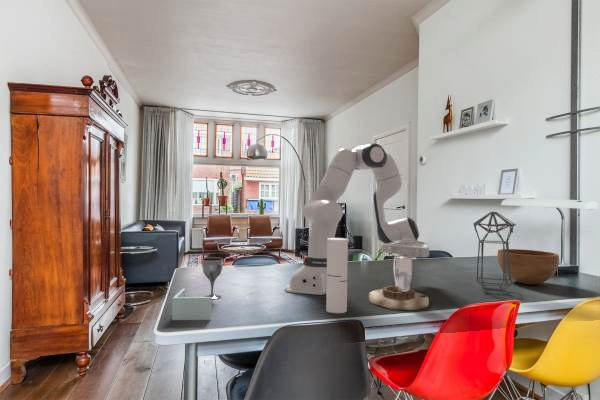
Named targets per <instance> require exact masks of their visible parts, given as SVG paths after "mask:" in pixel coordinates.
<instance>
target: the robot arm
mask: <svg viewBox="0 0 600 400" xmlns="http://www.w3.org/2000/svg"><path fill="white" fill-rule="evenodd" d="M369 169H370V170H371V171H372V173H373V174H374V177H375V181H376V190H375V191H374V192H373V206H374V207H373V208H374V214H375V221H376V234H377V237H378V241H380V242H382V243H381V244H380V253H385V254H396V255H398V256H408V257H412V259H413V258H428V257H430V245H428V243H427V242H423V241H419V240H418V239H419V237H420V231H419V228H418V225H417V224H416V222H415V220H414V219H413V218H410V217H403V218H398V219H396V220H391V221H386V217H385V210H384V206H385V203H386V202H387V201H388V200H389V199H391V198H393V197H394V196H395V195H396V194H398V193H399V191H400V190H401V188H402V184H403V183H402V177H401V174H400V171H399V168H398V165H397V164H396V161H395V159H394V158H393V156H392V155H391V154H390V153H387V152H386V151H385V149H384V147H382V145H380V144H378V143H368V144H361V145H358V146H356V147H352V148H351V149H348V148H340V149H338V150H337V152H336V153H335V155H334V156H333V157H332V159H331V161H330V163H329V165H328V166H327V169H326V172H325V173H324V175H323V178H322V180H321V182H320V184H319V185H318V186H317V188H316V189H315V191H314V192H313V194H312V195H311V196H310V199H309V200H308V201H307V202H306V203H305V205H304V206H303V208H302V213H303V217H304V218H305V219H306V220H307V221H308V222H309V223H312V229H311V233H310V236H308V244H307V245H308V250H307V251H308V253H307V254H308V255H304V256H303V257H302V260H303V265H301V266H300V267H299V268H297V270H295V271H294V272H292V274H291V277H290V280H289V283H286V284H285V287H284V291H285V292H287V293H294V294H295V293H296V294H307V295H319V296H321V295H326V290H327V238H336V237H335V236H336V233H337V229H338V224H339V222H341V220H342V217H343V208H342V206H341V204H339V202H337V201H338V200H339V199H340V198H341V197H342V196H343V195H344V194H345V192H346V190H347V187H348V186H349V182H350V181H351V179H352V176H353V173H354V171H355V170H356V171H357V170H369ZM397 241H398V242H397ZM394 242H397V243H394Z"/></svg>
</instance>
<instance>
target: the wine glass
mask: <svg viewBox="0 0 600 400" xmlns="http://www.w3.org/2000/svg"><path fill="white" fill-rule="evenodd" d="M201 266H202V272H203V274H204V276H205V277H206V279H207V280H208V281H209V283H210V294H208V295H204V296H203V297H212V301H214V300H218V299H221V298H222V295H219V294H214V287H215V282H216V280H217V279H218V277H219V276H220V275H221V274H222V271H223V266H224V258H223V257H220V256H219V257H217V256H215V257H213V256H212V257H210V256H209V257H204V258H202V259H201Z"/></svg>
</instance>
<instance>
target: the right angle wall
mask: <svg viewBox="0 0 600 400" xmlns="http://www.w3.org/2000/svg"><path fill="white" fill-rule="evenodd" d="M212 301H213V300H212V297H204V296H202V297H201V296H190V297H189V296H186V288H182V289H180V290H179V291H178V292H177V293H176V294H175V295H173V297H172V313H171V317H172V318H171V319H172V321H188V320H189V321H197V320H198V321H203V320H204V321H211V320H212V319H213V318H212V310H213V309H212V308H213V305H212V304H213V302H212Z"/></svg>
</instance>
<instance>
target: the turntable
mask: <svg viewBox="0 0 600 400" xmlns="http://www.w3.org/2000/svg"><path fill="white" fill-rule="evenodd" d="M429 299H430V298H429V297H428V296H427V295H426V294H423V293H421V292H417V291H415V289H413V288H411V287H410V292H406V293H403V292H395V285H386V286H382V288H381V289H374V290H372V291H370V292H369V293H368V301H369V302H370V303H372V304H374V305H376V306H378V307H382V308H387V309H392V310H401V311H402V310H403V311H417V310H421V309H425V308H427V307H429V304H430V301H429Z"/></svg>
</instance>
